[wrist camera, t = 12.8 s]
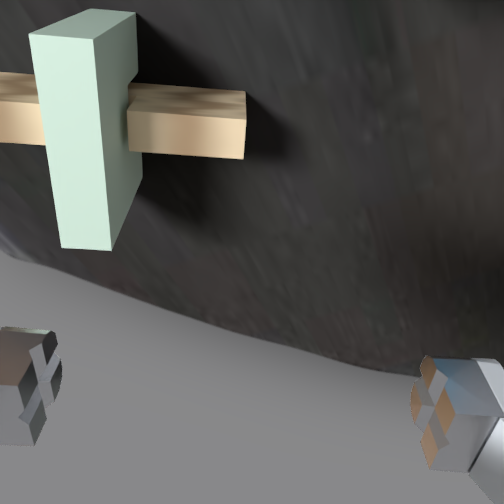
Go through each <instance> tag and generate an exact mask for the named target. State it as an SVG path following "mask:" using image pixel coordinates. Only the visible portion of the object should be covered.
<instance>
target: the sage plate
mask: <svg viewBox="0 0 504 504" xmlns="http://www.w3.org/2000/svg"><path fill="white" fill-rule="evenodd" d="M29 39H30V46H31V52H32V59H33V65H34V72H35V78H36V85H37V91H38V98H39V104H40V111H41V117H42V124H43V130H44V137H45V143H46V150H47V156H48V163H49V169H50V176H51V182H52V189H53V195H54V202H55V208H56V215H57V221H58V228H59V234H60V241H61V247H62V248H76V249H93V250H111V251H112V248H113V246H114V244H115V241H116V239H117V237H118V234H119V232H120V229H121V227H122V225H123V222H124V220H125V218H126V215H127V213H128V211H129V208H130V206H131V204H132V201H133V199H134V196H135V194H136V192H137V189H138V187H139V185H140V182H141V180H142V178H143V170H142V152H135V151H129V143H128V125H127V109H128V108H129V100H128V84H129V83H130V82H131V80H132V79H133V78H134V77H135V76H136V74H137V73H138V53H137V29H136V13H135V12H124V11H112V10H101V9H88V10H86V11H83V12H81V13H79V14H76V15H74V16H71V17H69V18H66V19H64V20H61V21H59V22H56V23H54V24H52V25H49V26H47V27H44V28H42V29H39V30H37V31H34V32H32V33H30V34H29Z"/></svg>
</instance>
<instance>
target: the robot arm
mask: <svg viewBox="0 0 504 504" xmlns="http://www.w3.org/2000/svg"><path fill="white" fill-rule="evenodd" d="M57 345H58V343H57V339H56V335H55V333H54V332H53V331H49V330H38V329H27V328H15V327H0V445H17V446H34V445H35V443H36V441H37V439H38V437H39V435H40V433H41V430H42V428H43V426H44V424H45V422H46V419H47V418H46V414H45V408H46V407H48V406H49V405H51V404H52V403H53V402H54V401H55V399H56V397H57V395H58V392H59V389H60V385H61V380H62V363H61V359H60V358H59V357H58V356H57V355H56V354H55V353H54V350H55V349H56V347H57ZM420 370H421V373H422V377H421V378H419V379H418V380H416V381H415V382H414V384H413V387H412V391H411V397H410V407H411V414H412V417H413V421H414V424H415V425H416V426H417V427H418V428H419V429H420V430H421V431H422V432H423V433H424V434H423V436H422V439H421V441H420V443H421V446H422V449H423V452H424V455H425V458H426V461H427V464H428V467H429V469H430V470H440V471H450V472H462V473H469V476H470V477H471V478H472V479H473V481H474V482H475V483H476V484H477V485H478V486H479V487H480V488H481V490H482V491H483V492H484V493H485V494H486V495H487V496H488V498H489V499H490V500H491V501H492V502H493V503H494V504H504V370H503V368H502V366H501V364H500V363H499V362H498V361H496V360H495V359H481V358H471V359H470V358H460V357H443V356H426V357H425V358H424V359H423V361H422V363H421V366H420Z"/></svg>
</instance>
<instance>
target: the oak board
mask: <svg viewBox="0 0 504 504" xmlns="http://www.w3.org/2000/svg"><path fill="white" fill-rule="evenodd" d="M128 100H129V108H128V109H127V125H128V143H129V151H135V152H149V153H163V154H177V155H191V156H205V157H219V158H234V159H243V158H244V145H245V132H246V94H245V91H233V90H221V89H208V88H196V87H183V86H171V85H158V84H146V83H133V82H130V83H129V84H128ZM0 142H8V143H22V144H36V145H46V143H45V137H44V130H43V124H42V117H41V111H40V104H39V98H38V91H37V85H36V78H35V75H33V74H20V73H8V72H0Z"/></svg>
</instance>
